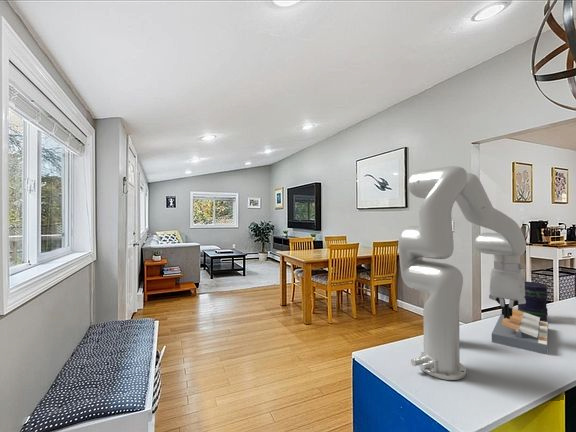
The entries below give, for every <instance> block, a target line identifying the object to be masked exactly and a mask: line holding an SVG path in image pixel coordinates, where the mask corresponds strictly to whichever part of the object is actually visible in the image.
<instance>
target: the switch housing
mask: <svg viewBox="0 0 576 432" xmlns="http://www.w3.org/2000/svg"><path fill="white" fill-rule="evenodd" d="M503 319H504V315H502V313H501V314H500V316H499V317H498V319H497V321H496V323H495V326H494V328H493V330H492V332H491V343H495V344H499V345H504V346H508V347H511V348H512V347H513V348H517V349H520V350H525V351H528V352H529V351H530V352H534V353H539V354H543V355H548V352H549V351H548V348H549V347H548V346H549V343H548V342H549V322H548V321H547V322H544V321H539V329H538V330H539V331H538V336H537V338H536V337H534V336H531V335H528V334H526V333H523V332H521V331H516V330H515V329H513V328H510V327H507V326H505V325H502V321H503Z"/></svg>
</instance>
